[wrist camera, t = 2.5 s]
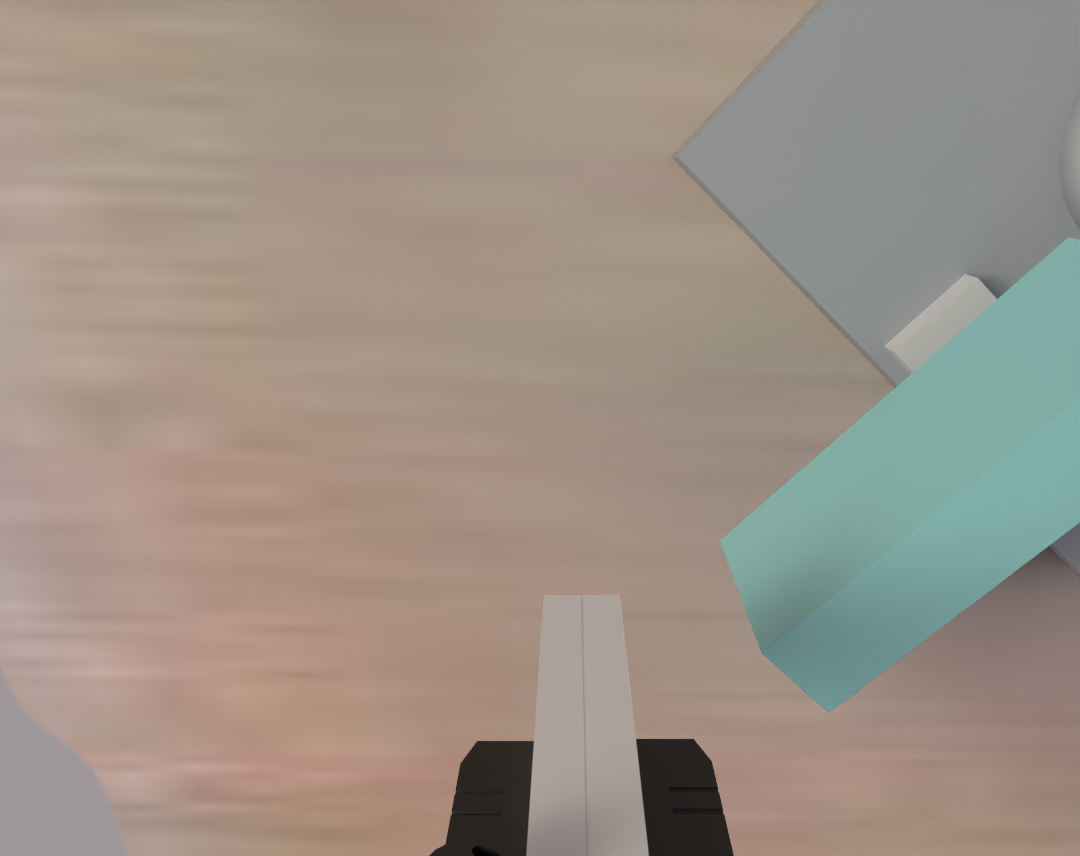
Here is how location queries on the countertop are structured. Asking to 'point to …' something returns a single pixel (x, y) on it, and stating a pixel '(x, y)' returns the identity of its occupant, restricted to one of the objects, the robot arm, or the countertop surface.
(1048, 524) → the domed saucepan
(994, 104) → the post board
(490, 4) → the countertop surface
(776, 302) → the countertop surface
